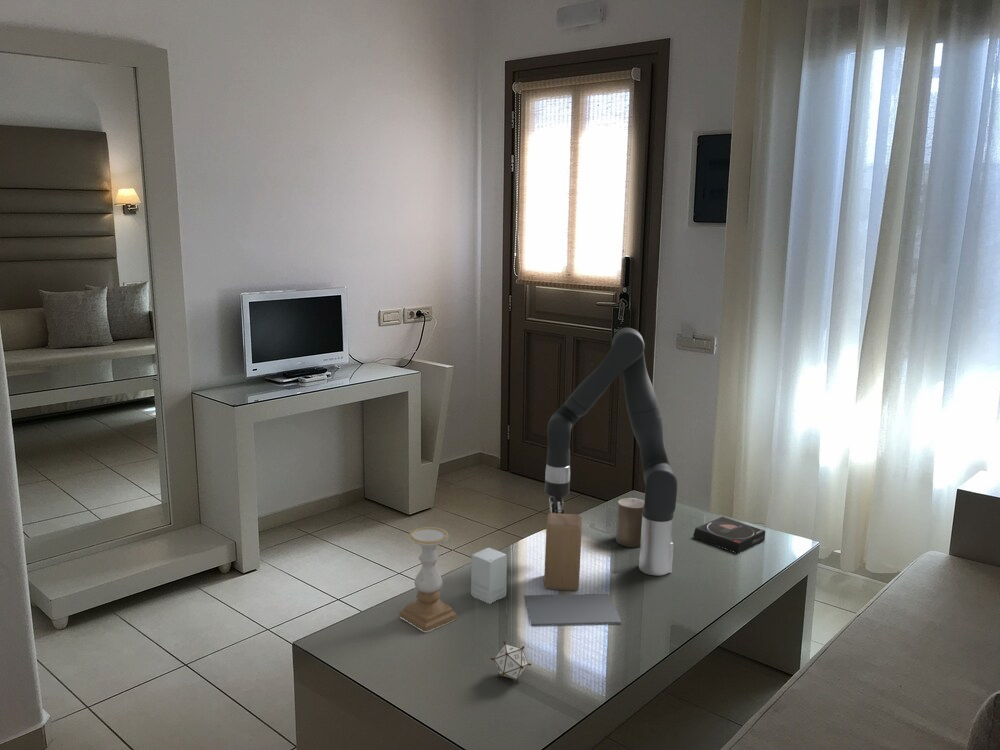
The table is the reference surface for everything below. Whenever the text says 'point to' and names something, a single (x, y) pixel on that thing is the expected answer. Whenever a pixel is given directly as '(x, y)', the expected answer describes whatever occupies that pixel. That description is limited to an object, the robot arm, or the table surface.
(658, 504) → the robot arm
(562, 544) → the block
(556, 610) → the mat
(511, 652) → the game die
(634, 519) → the pillar candle
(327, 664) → the table surface
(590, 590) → the table surface
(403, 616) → the candle holder
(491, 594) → the supplement box
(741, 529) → the portable cd player
